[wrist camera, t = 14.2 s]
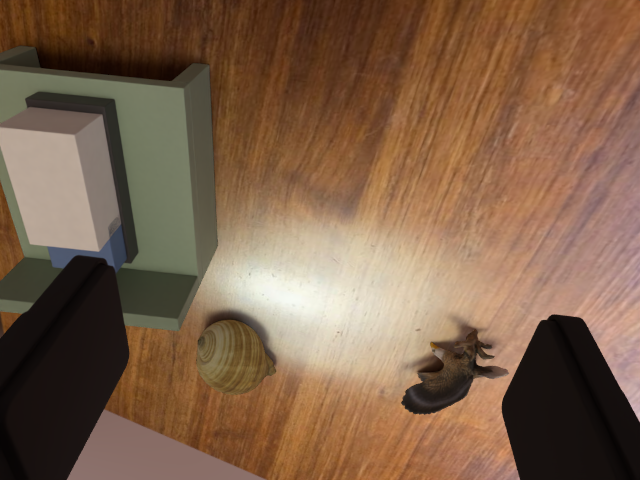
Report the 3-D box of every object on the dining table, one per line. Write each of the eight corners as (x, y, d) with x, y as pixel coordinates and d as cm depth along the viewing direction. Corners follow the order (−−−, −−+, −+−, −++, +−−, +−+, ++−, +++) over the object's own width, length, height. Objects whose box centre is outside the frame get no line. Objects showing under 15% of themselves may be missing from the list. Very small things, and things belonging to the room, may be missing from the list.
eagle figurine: (425, 315, 45) (383, 386, 49) (481, 370, 40) (429, 445, 44) (473, 314, 50) (431, 379, 53) (528, 363, 45) (478, 431, 48)
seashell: (274, 333, 55) (306, 357, 48) (242, 390, 54) (270, 423, 47) (201, 297, 51) (224, 317, 44) (165, 358, 50) (183, 389, 43)
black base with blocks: (37, 91, 31) (-13, 117, 27) (115, 99, 31) (76, 126, 27) (75, 245, 38) (39, 286, 34) (138, 252, 38) (110, 294, 34)
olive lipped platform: (19, 45, 36) (-100, 88, 27) (209, 64, 35) (155, 115, 26) (65, 229, 45) (-12, 310, 35) (217, 246, 44) (179, 331, 35)
